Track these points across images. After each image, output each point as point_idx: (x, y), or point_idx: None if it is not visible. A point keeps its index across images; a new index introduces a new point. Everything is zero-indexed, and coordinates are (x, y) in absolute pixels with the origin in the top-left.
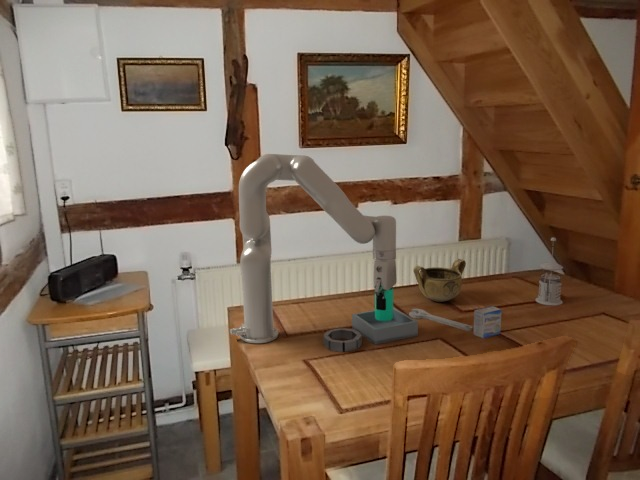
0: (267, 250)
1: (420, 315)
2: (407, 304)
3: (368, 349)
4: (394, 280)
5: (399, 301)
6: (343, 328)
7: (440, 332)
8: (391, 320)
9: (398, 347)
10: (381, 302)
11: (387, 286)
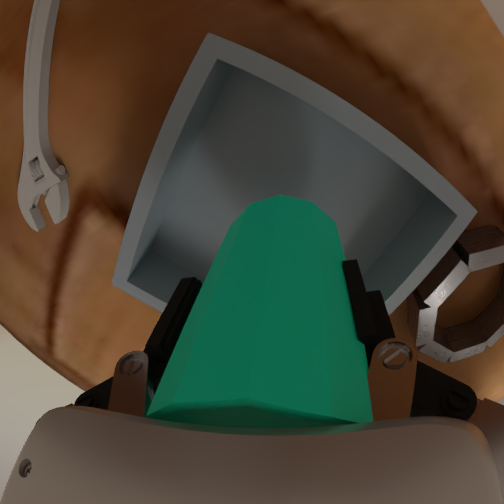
0: None
1: (50, 169)
2: (24, 268)
3: (485, 187)
4: (89, 480)
5: (31, 296)
6: (418, 342)
7: (129, 3)
8: (165, 241)
9: (419, 72)
10: (389, 329)
11: (482, 479)
